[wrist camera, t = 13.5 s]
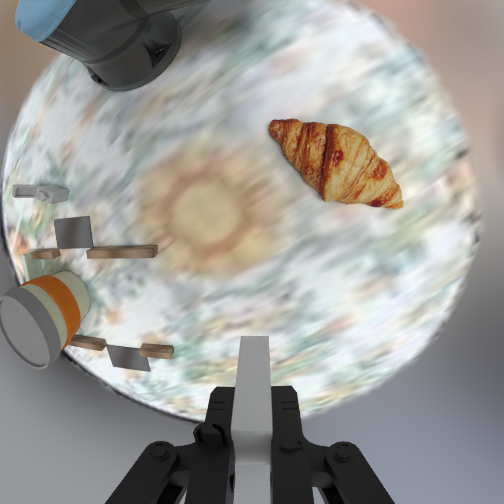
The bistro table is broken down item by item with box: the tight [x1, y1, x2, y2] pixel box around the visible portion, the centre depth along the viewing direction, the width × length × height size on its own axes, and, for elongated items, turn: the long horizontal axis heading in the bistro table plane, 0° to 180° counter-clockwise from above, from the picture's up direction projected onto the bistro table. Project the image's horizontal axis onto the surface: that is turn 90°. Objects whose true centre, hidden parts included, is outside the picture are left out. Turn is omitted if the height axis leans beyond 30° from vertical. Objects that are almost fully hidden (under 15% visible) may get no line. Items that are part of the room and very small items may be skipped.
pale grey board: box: [21, 249, 43, 282], centre depth 40 cm, size 1×18×4 cm, turn 1°
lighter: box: [12, 185, 69, 204], centre depth 33 cm, size 7×2×8 cm, turn 70°
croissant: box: [269, 119, 403, 210], centre depth 33 cm, size 21×10×8 cm, turn 64°
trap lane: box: [31, 216, 174, 372], centre depth 41 cm, size 27×28×2 cm
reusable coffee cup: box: [0, 271, 91, 370], centre depth 34 cm, size 13×13×15 cm
